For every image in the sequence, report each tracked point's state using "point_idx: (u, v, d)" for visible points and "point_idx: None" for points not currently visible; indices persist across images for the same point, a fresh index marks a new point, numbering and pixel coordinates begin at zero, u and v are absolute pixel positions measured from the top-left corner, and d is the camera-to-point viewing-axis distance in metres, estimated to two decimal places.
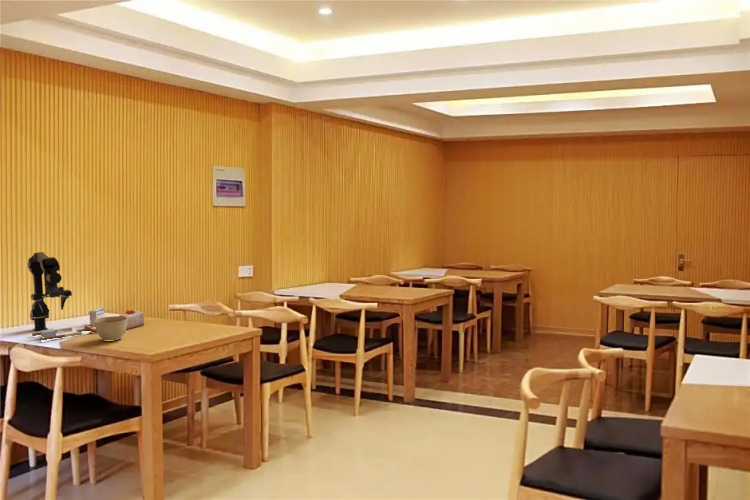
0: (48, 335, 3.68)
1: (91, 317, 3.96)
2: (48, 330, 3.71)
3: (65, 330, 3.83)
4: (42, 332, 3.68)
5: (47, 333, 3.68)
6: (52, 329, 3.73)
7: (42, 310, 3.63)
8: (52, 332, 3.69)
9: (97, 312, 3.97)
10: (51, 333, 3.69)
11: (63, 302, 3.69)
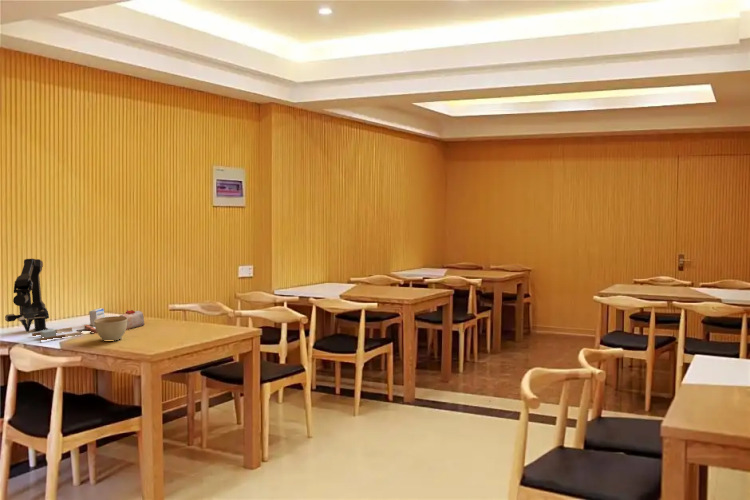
0: (48, 335, 3.68)
1: (91, 317, 3.96)
2: (48, 330, 3.71)
3: (65, 330, 3.83)
4: (42, 332, 3.68)
5: (47, 333, 3.68)
6: (52, 329, 3.73)
7: (26, 330, 3.63)
8: (52, 332, 3.69)
9: (97, 312, 3.97)
10: (51, 333, 3.69)
11: (29, 324, 3.63)
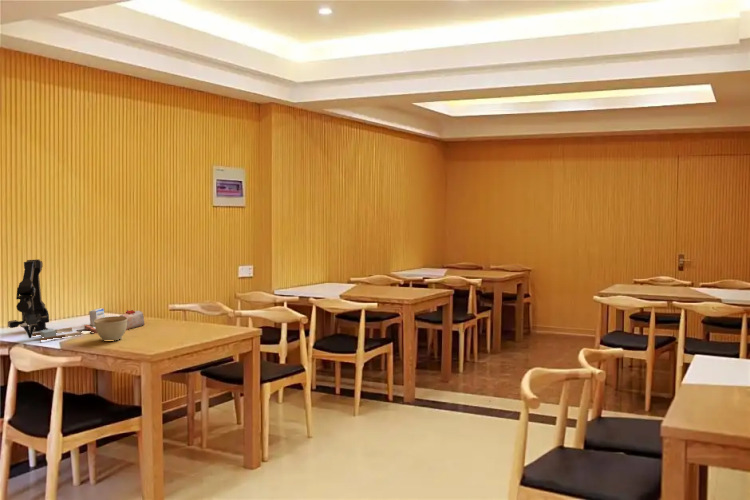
0: (48, 335, 3.68)
1: (91, 317, 3.96)
2: (48, 330, 3.71)
3: (65, 330, 3.83)
4: (42, 332, 3.68)
5: (47, 333, 3.68)
6: (52, 329, 3.73)
7: (28, 336, 3.64)
8: (52, 332, 3.69)
9: (97, 312, 3.97)
10: (51, 333, 3.69)
11: (31, 330, 3.64)
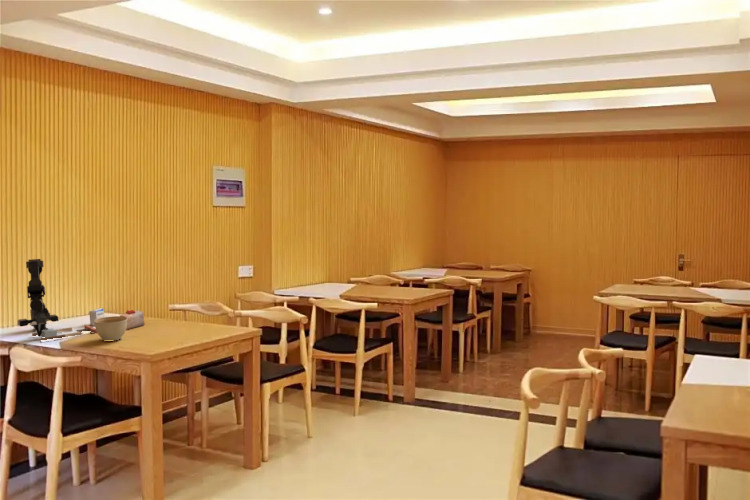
0: (49, 335, 3.68)
1: (91, 317, 3.96)
2: (48, 330, 3.71)
3: (65, 330, 3.83)
4: (43, 332, 3.68)
5: (48, 333, 3.68)
6: (52, 329, 3.73)
7: (38, 334, 3.67)
8: (53, 332, 3.69)
9: (97, 312, 3.97)
10: (52, 333, 3.69)
11: (41, 329, 3.67)
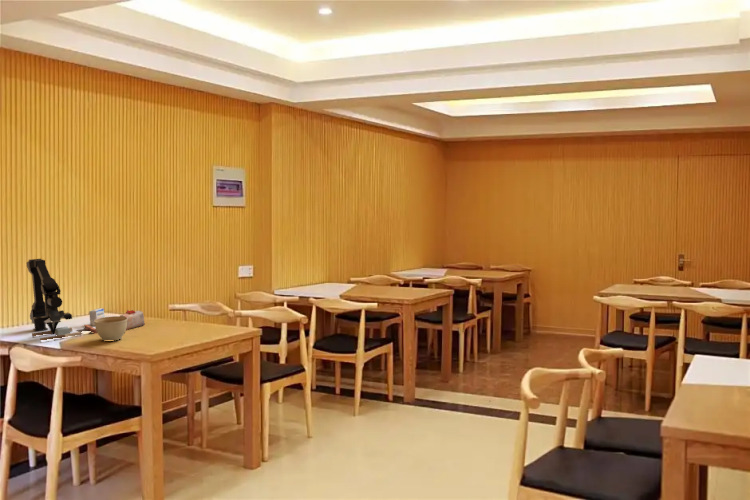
0: (62, 333, 3.72)
1: (91, 317, 3.96)
2: (62, 328, 3.75)
3: None
4: (56, 329, 3.72)
5: (61, 331, 3.71)
6: (66, 327, 3.77)
7: (52, 332, 3.71)
8: (66, 330, 3.73)
9: (97, 312, 3.97)
10: (65, 331, 3.73)
11: (55, 326, 3.71)
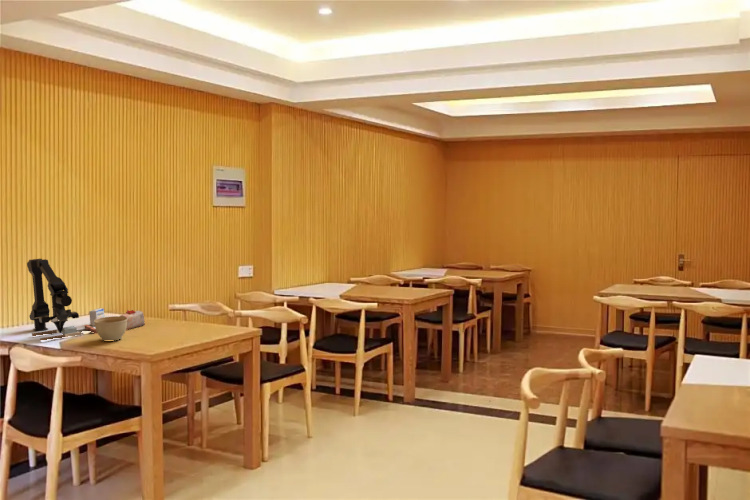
0: (69, 332, 3.74)
1: (91, 317, 3.96)
2: (69, 327, 3.77)
3: None
4: (63, 329, 3.74)
5: (68, 330, 3.74)
6: (73, 326, 3.79)
7: (59, 331, 3.73)
8: (73, 329, 3.75)
9: (97, 312, 3.97)
10: (72, 330, 3.75)
11: (62, 325, 3.74)
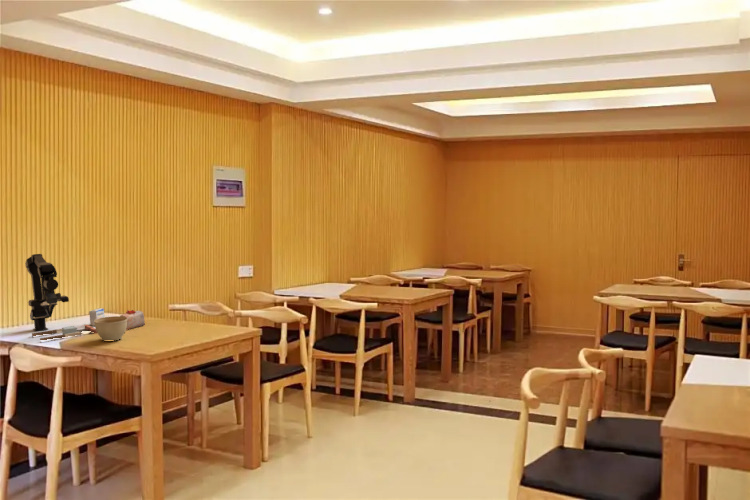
0: (69, 332, 3.74)
1: (91, 317, 3.96)
2: (69, 327, 3.77)
3: None
4: (63, 329, 3.74)
5: (68, 330, 3.74)
6: (73, 326, 3.79)
7: (48, 315, 3.70)
8: (73, 329, 3.75)
9: (97, 312, 3.97)
10: (72, 330, 3.75)
11: (51, 309, 3.70)
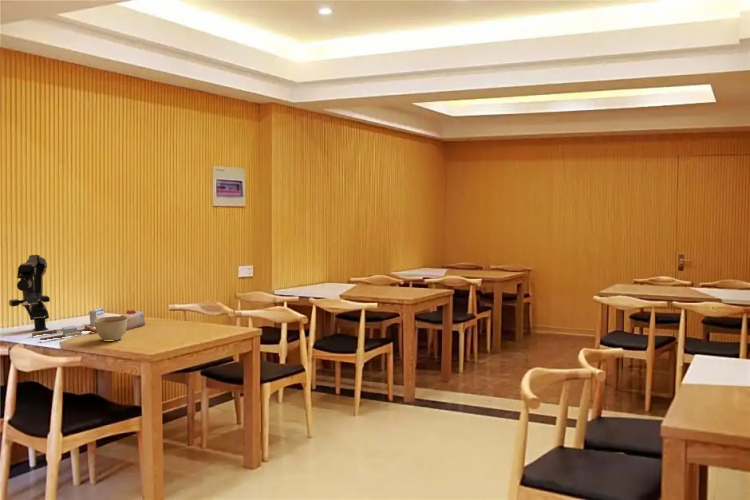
0: (69, 332, 3.74)
1: (91, 317, 3.96)
2: (69, 327, 3.77)
3: None
4: (63, 329, 3.74)
5: (68, 330, 3.74)
6: (73, 326, 3.79)
7: (29, 315, 3.71)
8: (73, 329, 3.75)
9: (97, 312, 3.97)
10: (72, 330, 3.75)
11: (32, 309, 3.71)
